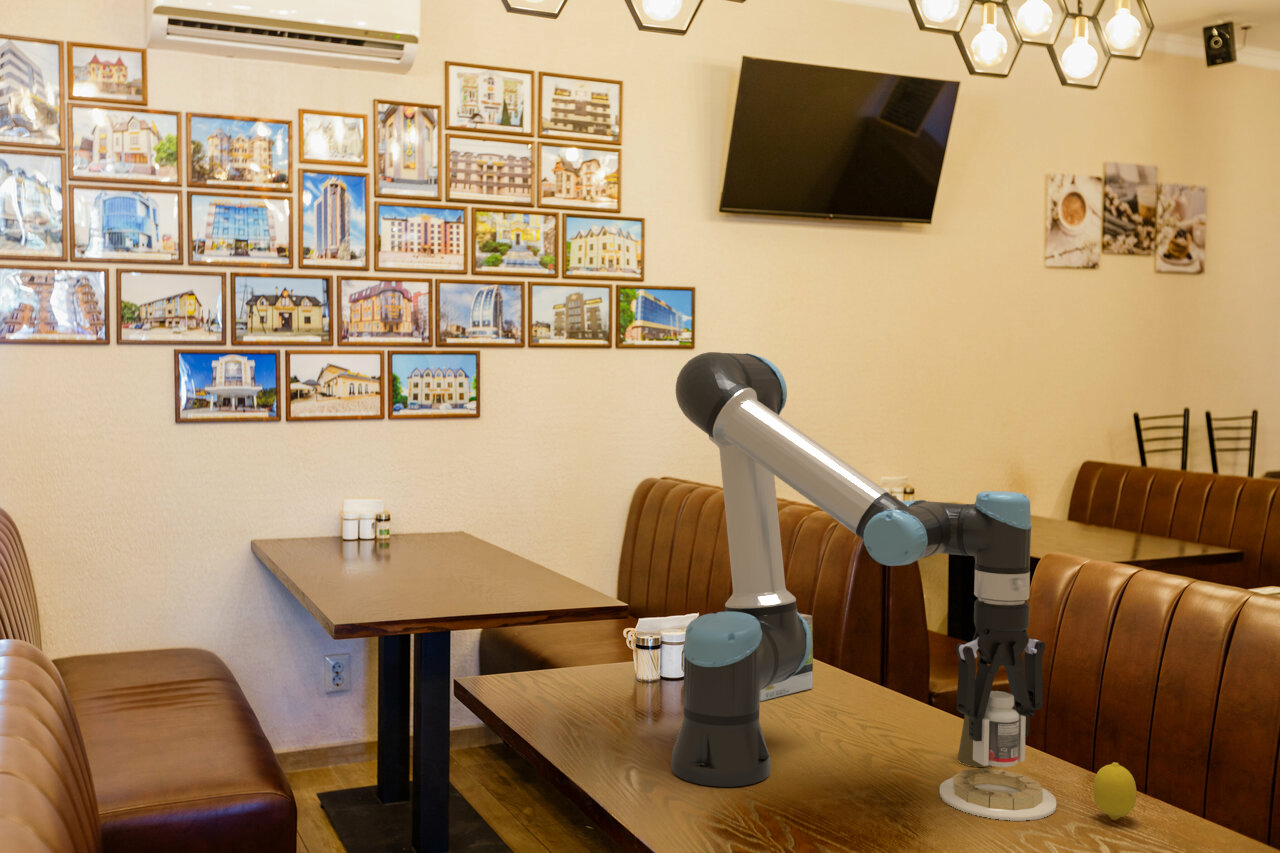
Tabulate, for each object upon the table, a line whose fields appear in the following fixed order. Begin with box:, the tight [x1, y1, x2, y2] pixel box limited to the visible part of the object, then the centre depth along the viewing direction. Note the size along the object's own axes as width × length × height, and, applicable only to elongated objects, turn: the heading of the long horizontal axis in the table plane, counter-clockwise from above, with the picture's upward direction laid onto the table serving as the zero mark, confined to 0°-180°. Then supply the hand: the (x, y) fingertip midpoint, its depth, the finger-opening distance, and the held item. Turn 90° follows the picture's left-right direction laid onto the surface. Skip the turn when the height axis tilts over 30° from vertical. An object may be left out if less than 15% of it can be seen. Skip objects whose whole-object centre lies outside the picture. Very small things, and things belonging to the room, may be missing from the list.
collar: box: [952, 768, 1043, 810], centre depth 160 cm, size 12×12×2 cm
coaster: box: [939, 777, 1057, 822], centre depth 160 cm, size 16×16×1 cm
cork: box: [957, 714, 993, 768], centre depth 176 cm, size 6×6×11 cm
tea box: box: [760, 612, 814, 702], centre depth 217 cm, size 15×10×15 cm, turn 130°
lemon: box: [1092, 761, 1138, 821], centre depth 153 cm, size 6×6×8 cm
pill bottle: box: [984, 690, 1019, 768], centre depth 160 cm, size 5×5×10 cm
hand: (998, 760), depth 160 cm, fingers closed on pill bottle, 5 cm apart
